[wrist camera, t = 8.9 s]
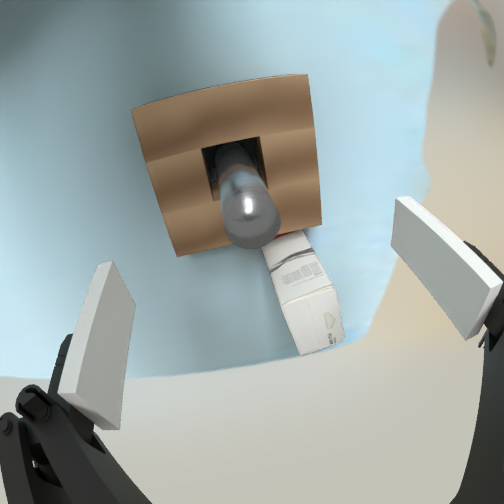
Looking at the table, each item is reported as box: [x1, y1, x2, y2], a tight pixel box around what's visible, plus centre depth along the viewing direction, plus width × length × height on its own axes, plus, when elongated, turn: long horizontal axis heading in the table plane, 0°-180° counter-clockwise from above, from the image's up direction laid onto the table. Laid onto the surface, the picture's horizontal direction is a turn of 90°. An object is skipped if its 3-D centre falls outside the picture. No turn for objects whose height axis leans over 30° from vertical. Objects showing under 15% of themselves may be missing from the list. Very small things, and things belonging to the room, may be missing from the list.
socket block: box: [131, 74, 322, 257], centre depth 26 cm, size 14×14×5 cm
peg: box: [215, 143, 281, 249], centre depth 23 cm, size 3×3×14 cm
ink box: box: [261, 229, 345, 356], centre depth 31 cm, size 9×5×12 cm, turn 20°
